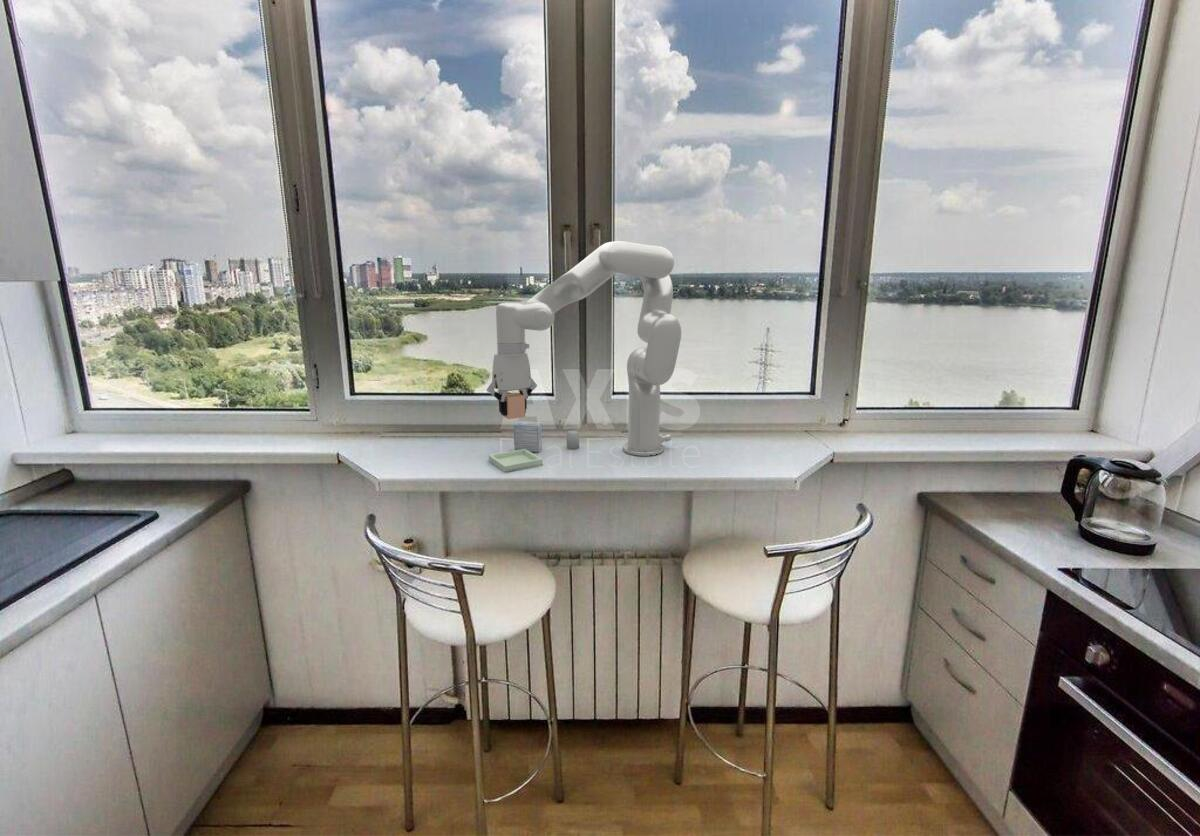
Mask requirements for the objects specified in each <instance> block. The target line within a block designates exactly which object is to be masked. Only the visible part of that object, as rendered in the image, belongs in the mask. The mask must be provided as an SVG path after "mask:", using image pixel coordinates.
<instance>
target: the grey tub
mask: <svg viewBox="0 0 1200 836" xmlns="http://www.w3.org/2000/svg"><path fill="white" fill-rule="evenodd" d="M565 433H566V435H565V436H566V449H567V450H578V449H580V431H578V430H567V431H566V432H565Z"/></svg>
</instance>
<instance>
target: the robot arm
mask: <svg viewBox="0 0 1200 836" xmlns="http://www.w3.org/2000/svg"><path fill="white" fill-rule="evenodd" d="M674 265H675V260H674V256H673V254H672V252H671V251H670V250H669V249H668V248H666V247H664V246H660V245H653V244H652V245H651V244H650V245H649V244H643V243H636V242H630V241H623V240H614V241H609V242H608V241H607V242H605V243H603V244H602V245H600V246H599V247H597V248H596V249H595V250H594V251H592V252H591V253H590V254H588V255H587V256H585V258H584V259H582V260H581V261H580V262H578V263H577V264H576V265H575V266H574V267H572V268H571V269H569V270H568V271H567V272H566V273H564V274H562V275H561V276H560V277H558V278H556V280H554V281H553V282H551V283H550V284H549V285H547V286H546V287H544V288H543V289H542V290H539V291H538V293H536V294H535V295H533V296H532V297H531V298H530V299H528V300H527V301H526V302H525V303H524V304H521V303H520V302H519V303H518V302H502V303H501V302H500V303H498V304H497V305H496V307H495V319H496V320H495V321H496V345H497V346H496V348H497V349H496V351H497V353H495V354H494V357H493V360H492V361H493V362H492V371H491V372H492V375H491V383H489V386H488V387H487V389H486V391H487V392H488V393H489V394H491V395H492V396H493V397H494V398H495V399H497V401H498V411H499V413H500V414H502V415H504V416H507V402H506V401H505V398H506V394H508V393H507V392H509V391H511V392H512V391H518V393H519V394H521V395H524V396H525V414H526V411H527V409H528V407H527V406H528V405H527V404H528V402H527V400H528V399H529V396H530V395H531V393H532V392H533V391H534V390H535V389H536V388H537V386H538V385H537V383H536V382H535V381H534V379H533V378H532V374H531V365H530V360H529V359H530V358H529V356H528V353H527V352H526V351H527V349H530V344H529V343H526V332H525V331H526V330H530V331H538V332H539V331H541V332H542V331H546V330H548V329H549V328H551V327H552V326H553V324H554V322H555V318H556V316H555V313H557V312H559V310H561V309H562V308H564V307H565V306H567V305H570V304H572V303H574V302H578V301H581V300H583V299H585V298H587V297H589V296H590V295H591V294H592V293H593V292H595V291H596V290H597V289H598V288H600V287H601V286H602V285H604V284H605V283H606V282H607V281H609V280H610V279H611V278H612V277H614V276H615V275H616V274H617V275H618V274H619V275H624V276H625V275H627V276H631V277H632V276H634V277H638V278H639V279H640V282H641V284H642V286H643V297H642V303H641V309H640V314H639V319H638V324H637V335H638V337H639V338H640V340H642V341H643V342H644V343H646V344H647V346H646V347H639V348H636V349H634V350H633V351H632V352H631V353H630V354H629V356H628V358H627V362H626V373H627V381H628V412H627V413H628V417H627V418H628V419H627V420H628V425H627V442H625V443H624V444H623V445H622V450H623V451H624V453H626V454H628V455H632V456H639V457H650V455H652V456H656V454H657V455H660V454H662V453H663V452H664V449H665V447H664V445H663V443H664V442H668V441H669V442H670V441H671V440H672V435H670V434H665V435H663V434H662V433H661V434H660V419H661V418H660V417H661V416H660V414H661V386H662V385H664V384H666V383H668V382H669V381H670V379H671V378H672V376H673V374H674V372H675V371H674V370H675V368H676V363H677V359H678V355H679V349H680V346H681V340H682V327H681V324H680V322H679V320H678V318H676V316H674V315H672V314H671V310H672V304H673V299H674V298H673V297H674V286H673V282H672V279H671V276H670V274H671V273H672V272H673V269H674ZM497 390H498V391H497ZM502 415H501V416H502ZM504 416H503V417H504Z"/></svg>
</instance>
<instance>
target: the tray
mask: <svg viewBox="0 0 1200 836" xmlns="http://www.w3.org/2000/svg"><path fill="white" fill-rule="evenodd" d="M488 462H489V463H491V464H493V465H494V466H495V467H496V468H497V469H499V470H500V471H502V472H503V471H504V472H503V473H505V472H506V473H510V472H515V471H520V470H525V469H531V468H536V467H541V466H543V465H544V464H543V463H544V462H543V458H542V457H540V456H538V455H537V454H535V453H534V452H530V451H528V450H526V449H520V450H514V449H513V450H511V451H505V452H498V453H493V454H488Z"/></svg>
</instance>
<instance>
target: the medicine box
mask: <svg viewBox="0 0 1200 836" xmlns="http://www.w3.org/2000/svg"><path fill="white" fill-rule="evenodd" d="M542 431H543V430H542V422H541V421H516V422H515V423H514V424H513V444H514V445H513V446H514V447H513V451H514V450H520V449H526V450H528V451H530V452H531V453H540V452H541V451H542V450H543V449H542V448H543V438H542V437H543V436H542V435H543V434H542Z"/></svg>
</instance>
